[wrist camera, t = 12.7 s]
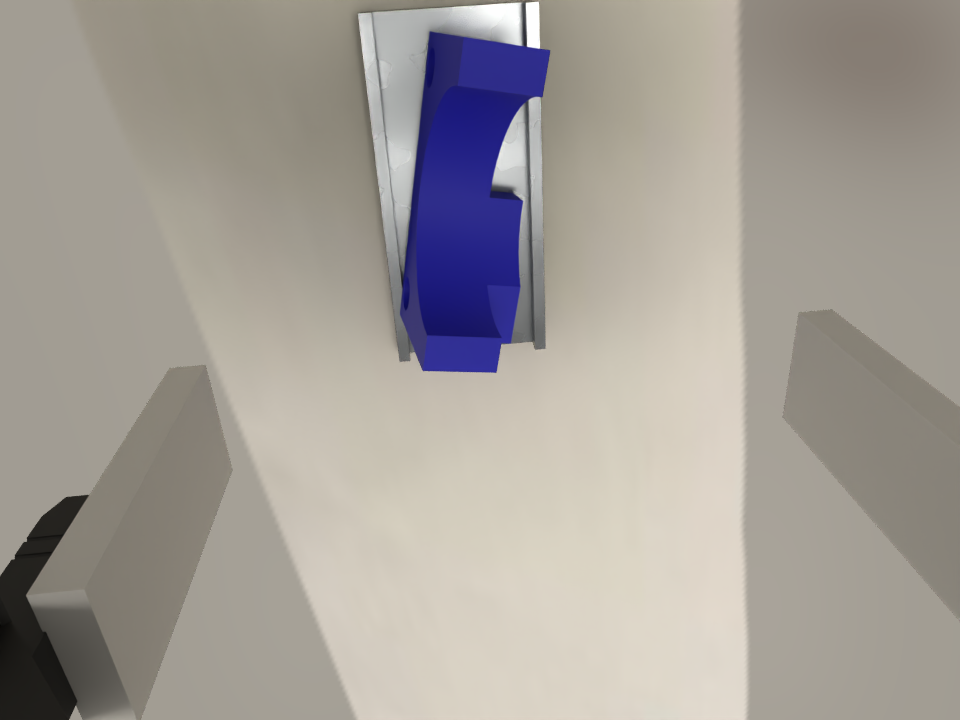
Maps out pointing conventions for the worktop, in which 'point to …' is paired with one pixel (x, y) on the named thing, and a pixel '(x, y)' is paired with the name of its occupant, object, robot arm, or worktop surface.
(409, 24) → the rail
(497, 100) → the cable clip
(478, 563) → the worktop surface
